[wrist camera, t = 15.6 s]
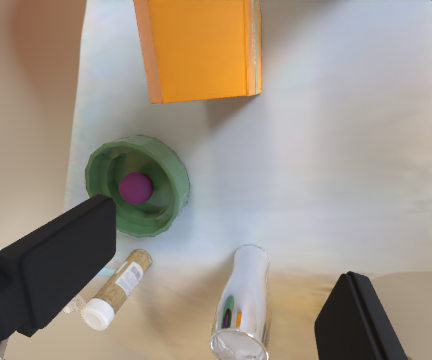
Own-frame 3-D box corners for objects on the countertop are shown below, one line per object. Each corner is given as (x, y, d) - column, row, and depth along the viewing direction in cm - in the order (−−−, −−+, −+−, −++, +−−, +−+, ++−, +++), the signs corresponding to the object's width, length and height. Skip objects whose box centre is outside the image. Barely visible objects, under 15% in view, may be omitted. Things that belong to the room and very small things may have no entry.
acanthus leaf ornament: (66, 282, 54) (59, 288, 53) (86, 302, 55) (80, 309, 54) (51, 292, 57) (44, 299, 56) (70, 311, 58) (64, 318, 57)
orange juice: (261, 10, 26) (225, -170, 8) (262, 93, 29) (237, 101, 11) (196, 21, 28) (48, -102, 10) (203, 98, 31) (100, 111, 13)
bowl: (106, 125, 36) (82, 130, 32) (197, 148, 34) (184, 157, 29) (107, 206, 42) (87, 220, 38) (184, 231, 40) (172, 249, 36)
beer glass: (230, 271, 41) (206, 361, 27) (232, 238, 38) (207, 321, 25) (270, 279, 39) (266, 379, 26) (275, 246, 37) (273, 338, 23)
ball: (132, 164, 37) (111, 174, 32) (160, 172, 36) (143, 184, 32) (131, 191, 39) (112, 204, 35) (158, 199, 38) (141, 214, 34)
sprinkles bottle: (128, 248, 45) (74, 307, 33) (149, 248, 44) (99, 309, 31) (135, 267, 46) (85, 330, 34) (155, 267, 45) (110, 333, 33)
